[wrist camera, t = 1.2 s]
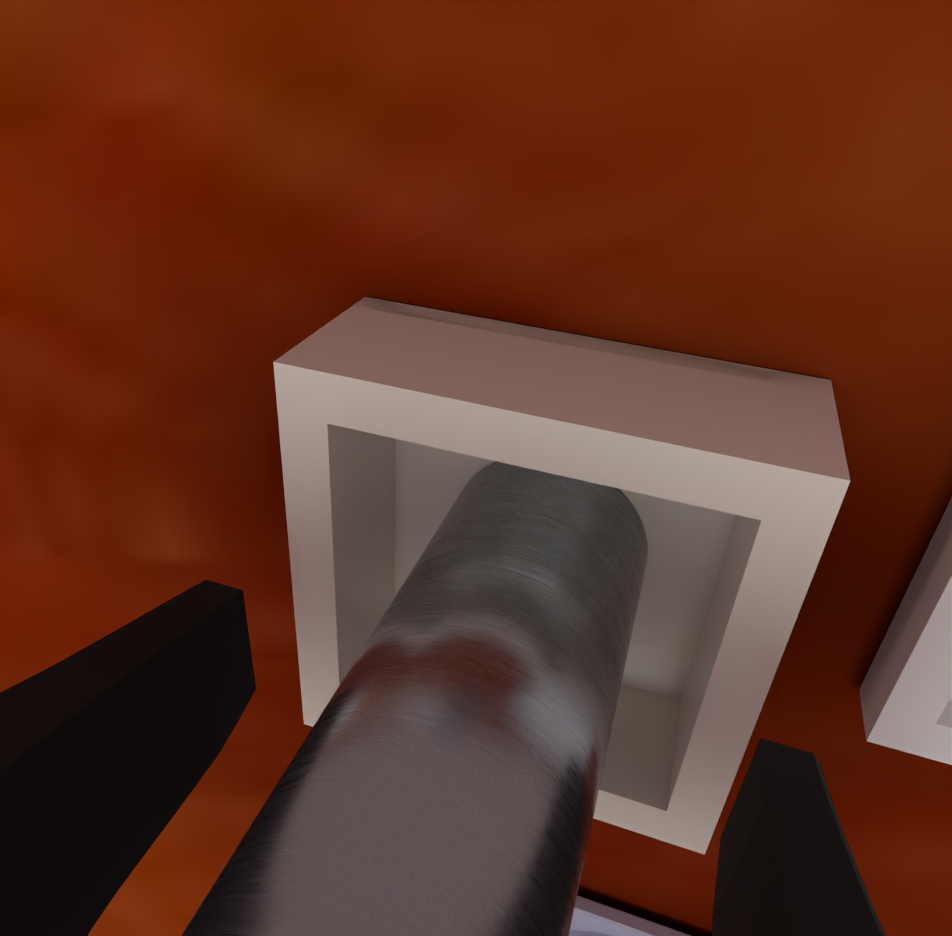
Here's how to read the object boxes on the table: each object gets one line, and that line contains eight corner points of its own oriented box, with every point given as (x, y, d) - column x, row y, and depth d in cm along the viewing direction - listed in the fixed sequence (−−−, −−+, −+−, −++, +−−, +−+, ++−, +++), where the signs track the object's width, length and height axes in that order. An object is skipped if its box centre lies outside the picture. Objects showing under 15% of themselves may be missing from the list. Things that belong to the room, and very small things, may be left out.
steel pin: (628, 639, 14) (489, 1296, 7) (449, 590, 15) (155, 1133, 8) (666, 479, 12) (528, 1152, 5) (459, 434, 13) (81, 956, 6)
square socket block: (713, 720, 15) (704, 854, 13) (369, 622, 17) (303, 723, 15) (830, 380, 11) (850, 480, 9) (365, 296, 13) (273, 362, 11)
